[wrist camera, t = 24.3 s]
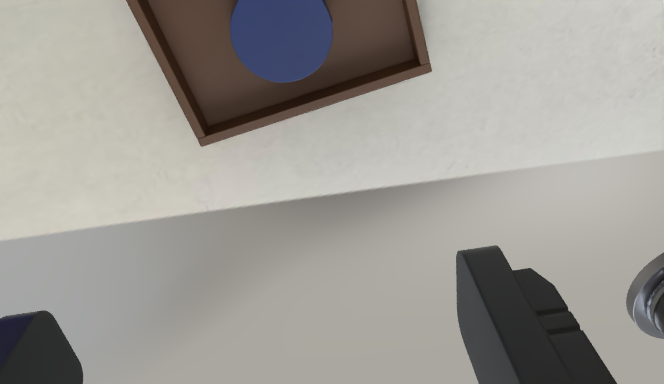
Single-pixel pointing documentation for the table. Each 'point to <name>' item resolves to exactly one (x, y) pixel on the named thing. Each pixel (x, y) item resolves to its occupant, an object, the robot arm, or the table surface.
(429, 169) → the table surface
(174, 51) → the tray
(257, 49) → the jar lid
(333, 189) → the table surface
